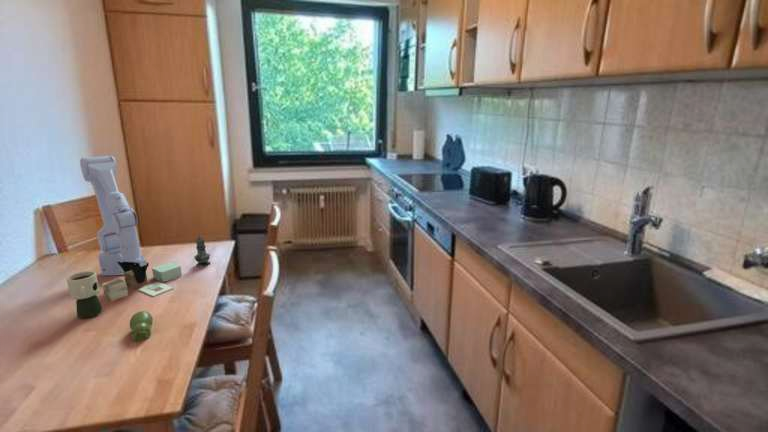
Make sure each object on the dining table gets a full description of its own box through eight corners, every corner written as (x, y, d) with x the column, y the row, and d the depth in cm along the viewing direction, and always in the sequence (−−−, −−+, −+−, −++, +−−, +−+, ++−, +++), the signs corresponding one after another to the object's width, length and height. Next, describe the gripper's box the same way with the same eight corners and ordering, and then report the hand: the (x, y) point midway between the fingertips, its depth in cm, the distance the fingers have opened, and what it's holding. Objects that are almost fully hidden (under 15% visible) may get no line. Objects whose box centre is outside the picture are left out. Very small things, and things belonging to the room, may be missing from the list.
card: (138, 290, 137) (138, 289, 137) (158, 282, 143) (158, 281, 143) (153, 296, 133) (153, 295, 133) (173, 288, 139) (173, 287, 138)
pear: (151, 305, 116) (150, 327, 108) (154, 320, 118) (153, 342, 110) (129, 310, 113) (126, 332, 105) (132, 324, 115) (130, 347, 107)
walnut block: (126, 285, 141) (123, 272, 140) (140, 280, 146) (138, 267, 144) (133, 288, 139) (131, 275, 138) (148, 283, 143) (145, 270, 142)
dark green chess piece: (205, 267, 156) (201, 238, 153) (192, 266, 157) (187, 237, 154) (214, 262, 162) (210, 234, 158) (201, 260, 163) (197, 233, 160)
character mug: (104, 318, 119) (95, 279, 116) (74, 325, 116) (64, 285, 112) (104, 304, 128) (96, 266, 125) (77, 310, 124) (68, 272, 121)
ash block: (104, 297, 133) (101, 283, 131) (120, 291, 137) (118, 278, 135) (112, 301, 130) (109, 287, 129) (128, 295, 134) (125, 281, 133)
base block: (153, 278, 148) (151, 268, 147) (172, 271, 153) (170, 262, 152) (163, 282, 144) (161, 272, 143) (181, 276, 149) (180, 266, 148)
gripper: (106, 244, 138) (113, 280, 142) (128, 252, 131) (135, 289, 135) (127, 238, 144) (134, 273, 148) (149, 245, 137) (156, 281, 141)
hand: (136, 280), depth 142 cm, fingers open, 6 cm apart
